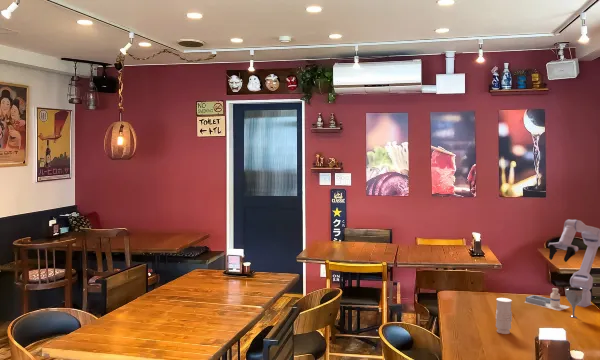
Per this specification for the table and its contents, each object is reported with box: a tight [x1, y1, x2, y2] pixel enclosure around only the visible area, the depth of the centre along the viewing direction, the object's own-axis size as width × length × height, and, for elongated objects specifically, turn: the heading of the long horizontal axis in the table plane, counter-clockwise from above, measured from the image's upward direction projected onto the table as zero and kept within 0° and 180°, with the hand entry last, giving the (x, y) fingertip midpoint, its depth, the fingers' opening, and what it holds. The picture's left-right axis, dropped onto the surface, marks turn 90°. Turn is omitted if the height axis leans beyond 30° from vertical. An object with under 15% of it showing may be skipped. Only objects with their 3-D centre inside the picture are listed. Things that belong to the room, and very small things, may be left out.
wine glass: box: [564, 286, 583, 319], centre depth 261 cm, size 8×8×15 cm
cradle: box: [524, 294, 570, 312], centre depth 284 cm, size 12×20×3 cm, turn 37°
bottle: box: [549, 287, 561, 308], centre depth 280 cm, size 5×5×10 cm
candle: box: [495, 297, 513, 335], centre depth 240 cm, size 7×7×15 cm
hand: (557, 259), depth 267 cm, fingers open, 7 cm apart
